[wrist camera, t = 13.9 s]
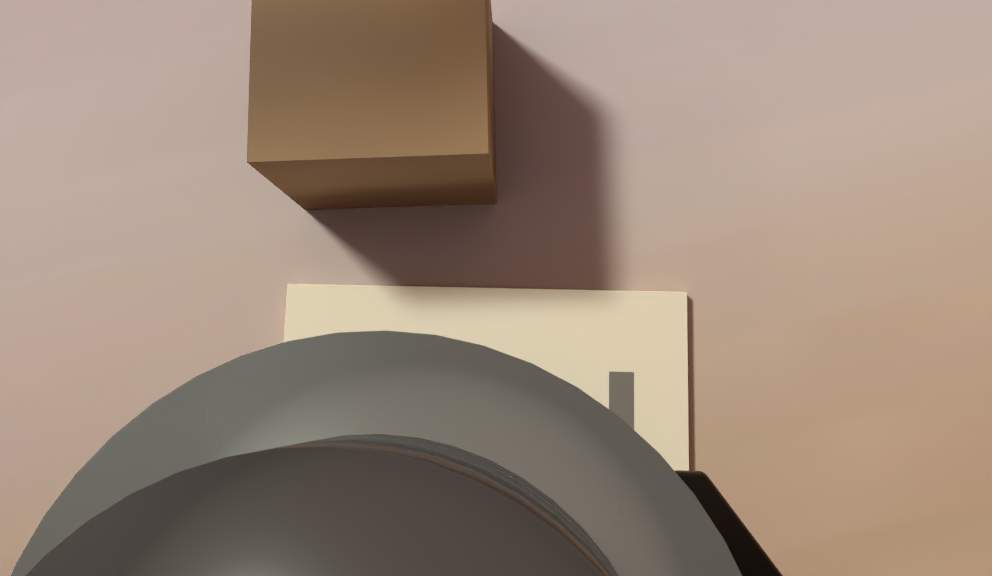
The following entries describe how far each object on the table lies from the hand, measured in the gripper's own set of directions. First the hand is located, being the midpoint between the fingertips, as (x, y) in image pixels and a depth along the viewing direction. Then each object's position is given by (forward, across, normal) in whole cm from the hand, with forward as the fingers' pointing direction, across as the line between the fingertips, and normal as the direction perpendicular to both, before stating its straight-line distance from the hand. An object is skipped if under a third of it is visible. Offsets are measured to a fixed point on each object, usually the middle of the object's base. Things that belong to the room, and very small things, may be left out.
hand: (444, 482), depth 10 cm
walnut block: (+12, +2, 0) cm, 12 cm away
